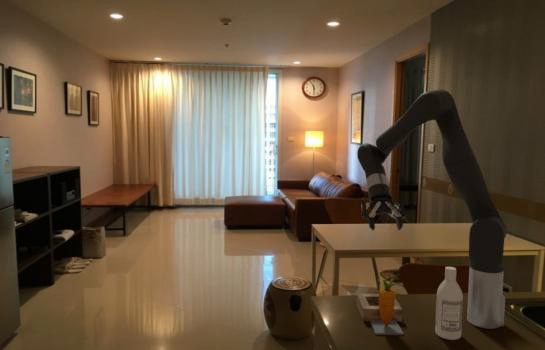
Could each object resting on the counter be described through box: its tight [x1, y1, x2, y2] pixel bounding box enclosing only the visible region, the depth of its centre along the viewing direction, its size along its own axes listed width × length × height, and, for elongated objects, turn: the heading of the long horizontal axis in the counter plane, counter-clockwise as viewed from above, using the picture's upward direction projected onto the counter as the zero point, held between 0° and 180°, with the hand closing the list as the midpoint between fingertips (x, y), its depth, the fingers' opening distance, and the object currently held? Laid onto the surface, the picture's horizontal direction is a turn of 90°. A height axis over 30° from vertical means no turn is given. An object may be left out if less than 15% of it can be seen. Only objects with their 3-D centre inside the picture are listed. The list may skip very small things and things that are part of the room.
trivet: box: [369, 320, 404, 336], centre depth 123 cm, size 8×8×1 cm
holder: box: [356, 293, 403, 323], centre depth 133 cm, size 12×12×4 cm
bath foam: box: [434, 266, 464, 341], centre depth 117 cm, size 7×7×20 cm
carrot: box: [378, 278, 396, 326], centre depth 122 cm, size 5×5×15 cm
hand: (386, 228), depth 133 cm, fingers open, 8 cm apart
